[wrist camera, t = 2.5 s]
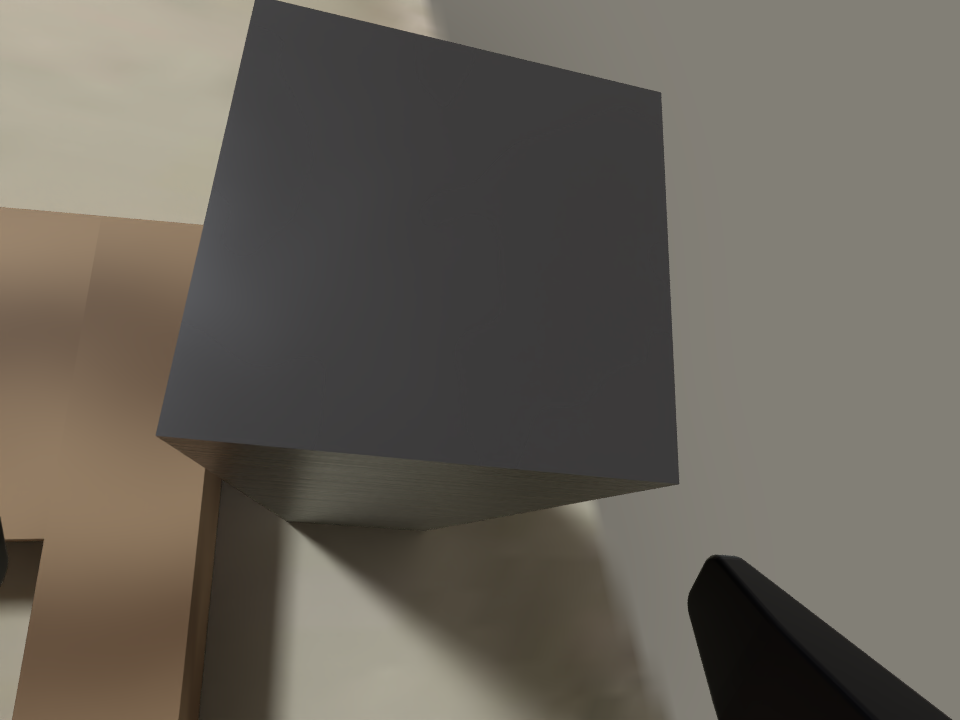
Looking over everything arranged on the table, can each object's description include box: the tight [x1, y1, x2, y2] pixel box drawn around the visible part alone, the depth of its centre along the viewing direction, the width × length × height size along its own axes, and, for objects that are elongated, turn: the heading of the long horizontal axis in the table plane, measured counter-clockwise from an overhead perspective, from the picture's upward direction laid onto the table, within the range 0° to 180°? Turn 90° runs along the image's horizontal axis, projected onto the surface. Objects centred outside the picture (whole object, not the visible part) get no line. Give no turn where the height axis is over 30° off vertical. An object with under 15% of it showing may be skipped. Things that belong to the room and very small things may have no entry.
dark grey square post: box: [155, 0, 679, 531], centre depth 12 cm, size 4×4×14 cm
